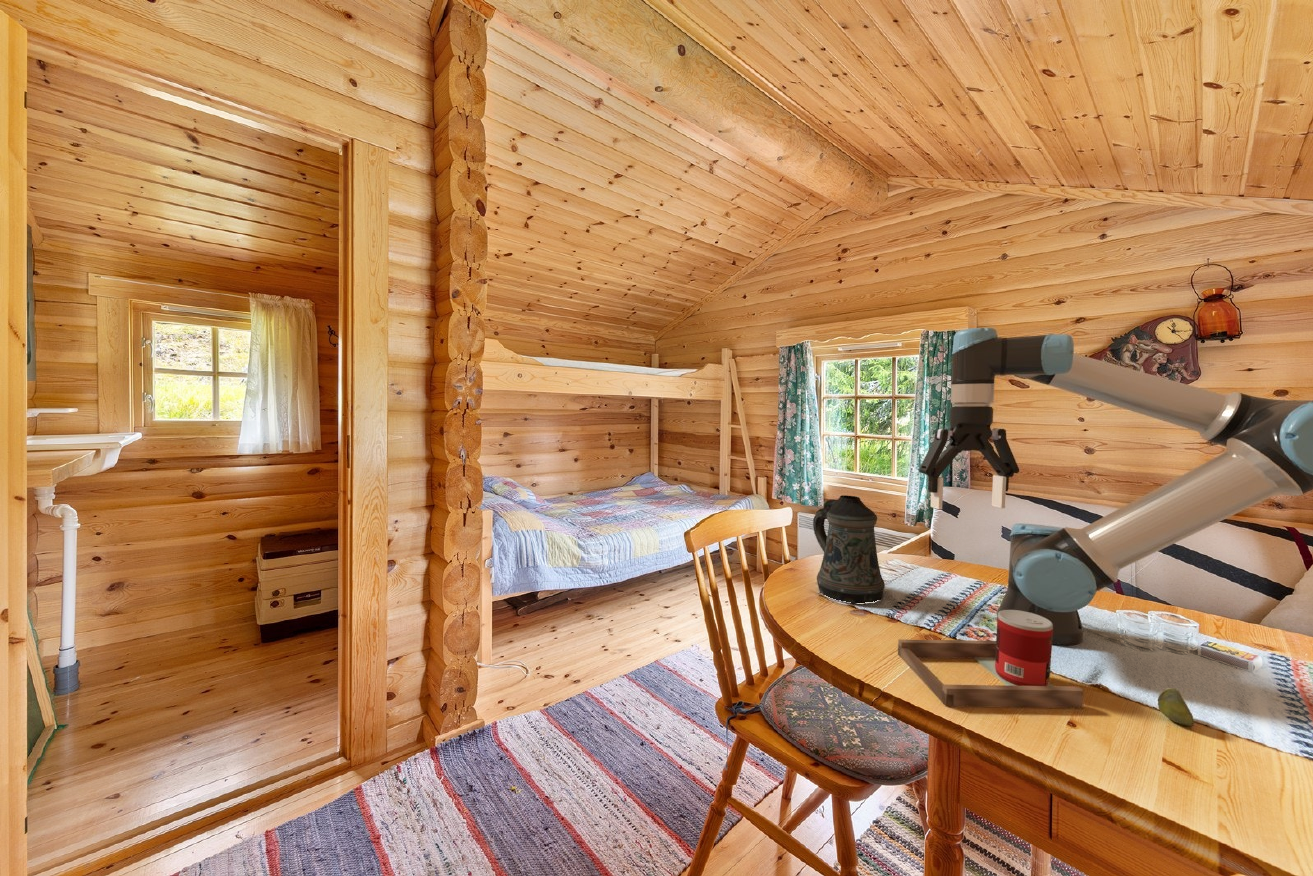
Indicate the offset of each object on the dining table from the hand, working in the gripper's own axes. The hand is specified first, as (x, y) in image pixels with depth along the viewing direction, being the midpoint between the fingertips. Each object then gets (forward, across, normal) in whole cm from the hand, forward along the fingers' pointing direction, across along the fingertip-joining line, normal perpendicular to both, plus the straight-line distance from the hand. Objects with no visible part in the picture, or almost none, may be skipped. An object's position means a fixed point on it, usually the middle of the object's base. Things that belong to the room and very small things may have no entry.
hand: (967, 507), depth 105 cm
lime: (+28, -14, +29) cm, 43 cm away
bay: (+28, +8, +16) cm, 33 cm away
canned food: (+28, +1, +16) cm, 32 cm away
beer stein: (+28, +14, -26) cm, 41 cm away
